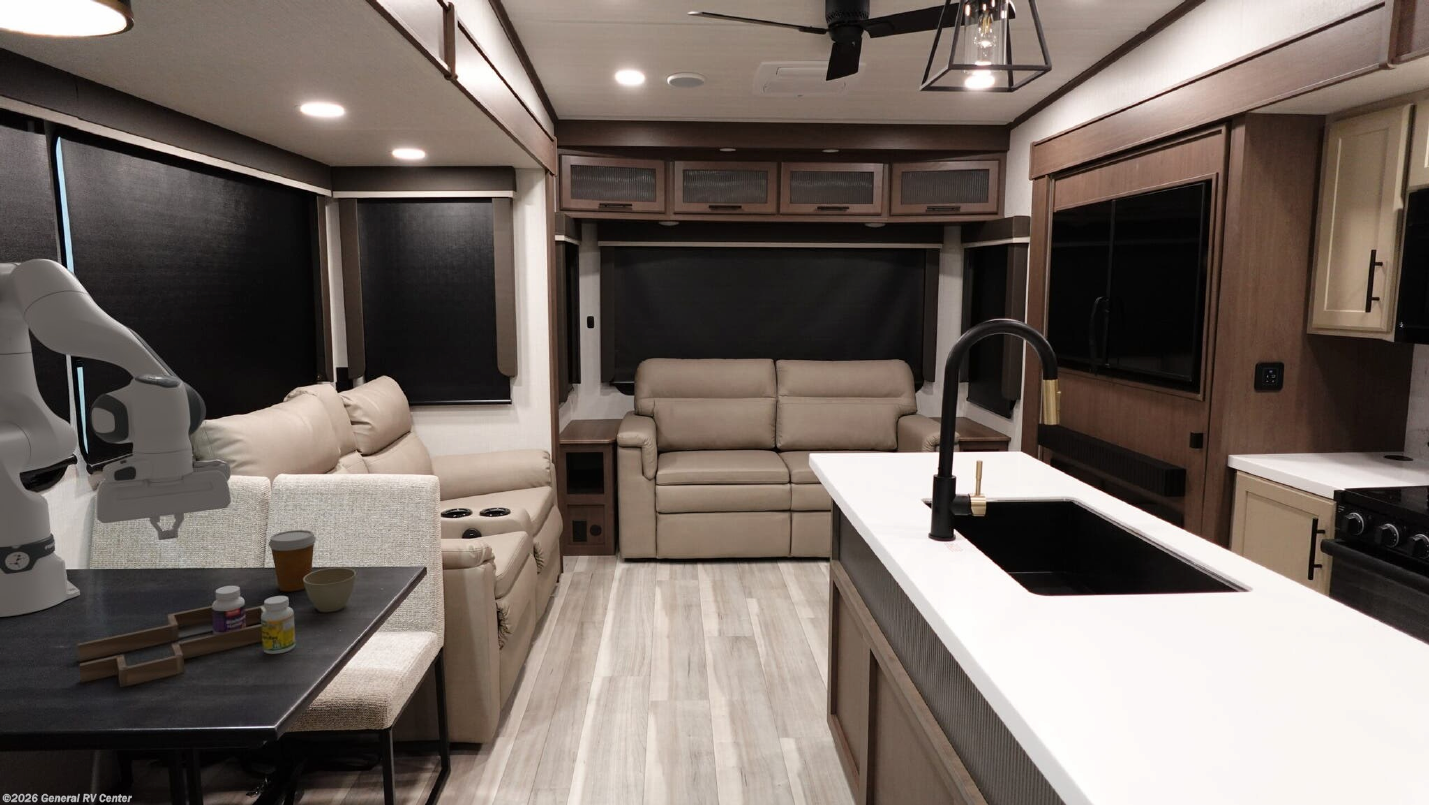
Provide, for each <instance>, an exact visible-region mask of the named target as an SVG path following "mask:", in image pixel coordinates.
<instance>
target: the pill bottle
mask: <svg viewBox="0 0 1429 805" xmlns="http://www.w3.org/2000/svg"><path fill="white" fill-rule="evenodd" d="M215 599H216V600H214V602H213V603H212V605H211V606H212V616H213V632H212V633H213V634H212V635H214V634H219V633H223V632H228V631H232V630H237V629H241V628H246V627H247V625H246V620H245V609H246V602H245V599H244V597H242V596H241V588H240V587H239V586H238V585H225V586H222V587H219V588H217V589H216V590H215Z"/></svg>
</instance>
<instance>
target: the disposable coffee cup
mask: <svg viewBox="0 0 1429 805" xmlns="http://www.w3.org/2000/svg"><path fill="white" fill-rule="evenodd" d="M316 540H317V537H316V536H315V534H314V532H313V531H312V530H307V529H293V530H285V531H281V532H278V533H274V534H273V535H271V536H270V539H269V542H268V543H267V544H268V547H269V548H270V549H271V555H272V559H273V564H274V569H275V575H276V578H277V584H278V589H279V590H280V591H282V592H297V591H301V590H304V589H305V586H304V581H303V578H304V577H305V576H306V575H308V574H309V573H312V572H313V571H312V570H313V560H314V559H313V558H314V550H315V549H314V548H315V544H316ZM305 590H306V589H305Z"/></svg>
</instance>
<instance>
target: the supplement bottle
mask: <svg viewBox="0 0 1429 805" xmlns="http://www.w3.org/2000/svg"><path fill="white" fill-rule="evenodd" d="M289 603H290V602H289V597H288V596H285V595H277V596H271V597H268V598H266V599H265V600H264V602H263V606H264V608H265V609H266V610H265V611H264V612H263V613H262V615H261V622H260V624H261V625H262V641H261V642H262V649H263V652H264V653H266V654H269V655H279V654H283V653H288V652H289V651H292V649H294V648H295V646H296V633H295V632H296V630H295V614H294V613H295V612H294V610H293V608H291V607H290V606H289V605H290V604H289Z"/></svg>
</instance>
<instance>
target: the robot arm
mask: <svg viewBox="0 0 1429 805" xmlns="http://www.w3.org/2000/svg"><path fill="white" fill-rule="evenodd" d="M80 282H81V281H79V279H78V276H76V275H75V273H74V272H73V271H72V270H70V269H69V268H66V267H65V266H63V265H62V264H61V263H59V262H57V261H55V260H51V259H46V258H33V259H30V260H25V261H23V262H12V261H10V262H0V618H1V617H11V616H20V615H23V614H24V615H25V614H31V613H33V612H38V611H42V610H45V609H49V608H51V607H53V606H56V605H58V604H61V603H62V602H64V601H66V600H70V599H72V598H75V597H79V596H80V595H81V593H80V592H81V591H80V589H79V588H78V587H76V586H75V585H74V584H73V583H71V582H70V581H69V580H68V578H69V577H68V574H67V569H66V568H67V567H66V562H65V559H63V558H62V557H60V556H58V554H56V553H55V551H56V546H55V545H56V540H55V538H54V534H53V533H51V522H50V512H49V510H50V509H49V503H48V499H46V497H45V496H43V495H41V494H40V493H37V492H36V491H33V490H28V489H26V488H25V486H24V485H23V482H22V481H21V477H20V473H23V472H28V471H29V472H30V471H33V470H38V469H43V468H48V467H50V466H53V465H55V464H58V463H60V462H62V461H65V460H67V459H69V458H71V457H72V455H73V454H74V453H75V450H76V448H77V444H78V438H77V432H75V430H74V428H73V427H72V425H71V424H70V423H69V422H68V421H66V420H65V419H63V418H61V417H60V416H58V415H57V414H55V413H54V412H53V411H52V410H51V408H49V406H48V405H47V404H46V402H45V401H44V399H43V397H42V395H41V393H40V391H39V387H38V383H37V379H36V372H35V367H34V360H33V359H34V358H33V353H32V344H31V339H30V338H31V337H30V335H29V334H30V333H29V330H30V331H31V333H32V334H33V335H34V337H35V338H36V339H37V340H38V341H39V342H40V343H42V345H44V346H45V347H47V348H48V349H49V350H51V351H53V352H56V353H59V354H63V355H67V356H71V357H81V358H86V359H93V360H99V361H104V362H107V363H111V364H114V365H116V366H119V367H121V368H122V369H125V370H126V371H127V372H128V373H129V374H130V375H131V376H132V379H131V381H130V383H129V384H128V385H126V386H124V387H122V388H119V389H117V390H114V391H111V392H108V393H102V394H101V395H99V396H98V397H97V398H96V399H95V400H94V401H93V403H92V405H91V408H90V410H89V424H90V428H91V429H92V432H93V433H94V434H95V435H96V436H97V437H98V438H99V439H101V440H102V441H104V442H106V443H109V444H127V443H129V444H130V443H132V445H133V447H132V455H131V456H129V457H125V458H123V459H120V460H117V461H113V462H111V463H108V464H105V466H103V468H102V476H103V479H104V480H102V481H101V482H100V484H99V486H98V489H97V496H96V508H95V509H96V510H95V511H96V520H98V521H99V522H100V523H102V524H110V523H117V522H119V523H120V522H124V521H127V522H128V521H133V520H140V519H149V522H150V524H151V526H152V527H153V528H154V530H156V532H157V539H158V541H163V540H170V539H178V537H179V534H178V533H179V532H178V529H179V528H180V526H181V525H182V523H183V521H184V520H185V515H184V514H189V513H197V512H205V511H206V512H207V511H214V510H220V509H226V508H228V507H229V505H231V502H232V500H231V499H232V498H231V492H230V487H229V483H228V481H229V480H230V479H231V466H230V465H229V463H227V462H226V461H222V460H221V459H212V460H198V461H193V446H192V443H191V440H190V436H192V435H193V434H195V433H196V431H197V430H198V429H199V428H200V427H201V425H202V424H203V423H204V420H205V418H206V416H207V414H206V413H207V408H206V404H205V401H204V400H203V398H202V396H201V395H200V394H199V393H198V392H197V391H196V389H194V388H193V387H192V386H190V385H189V384H188V383H186V382H184V381H183V380H182V379H181V378H180V377H179V376H178V375H177V374H176V373H175V372H174V371H173V370H172V369H171V368H170V366H168V364H166V363H165V361H164V360H163V359H162V358H161V357H160V356H159V355H158V354H157V353H156V351H154V350H153V348H152V347H151V346H150V345H149V344H148V343H147V342H146V341H145V339H143V338H142V337H141V336H140V335H139V334H138V333H137V332H135V331H134V330H133V329H132V328H130V327H128V326H126V325H125V324H122V323H120V322H119V321H117V320H115V319H114V318H113V317H111V316H110V315H108V314H107V313H106V312H105V311H104V309H102V308H101V307H100V306H98V304H97V303H96V302H95V301H94V299H93V297H92V296H91V294H90V293H89V292H88V291H87V290H86V288H85V287H84V286H83V285H82V284H81V283H80ZM172 515H173V518H174V520H175V521H174V522H173V524H172V526H170V527H163V528H162V527H161V525H159V523H160V521H161V518H160V517H164V516H165V517H166V516H167V517H168V516H172Z"/></svg>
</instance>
